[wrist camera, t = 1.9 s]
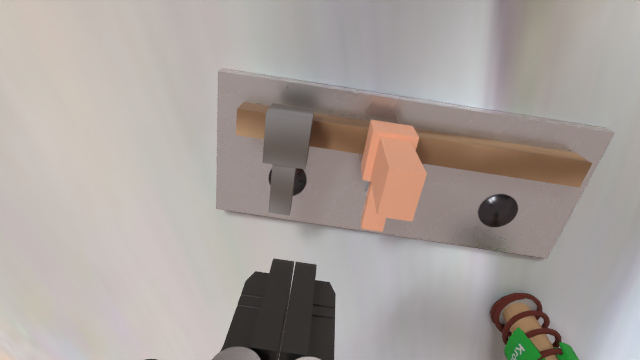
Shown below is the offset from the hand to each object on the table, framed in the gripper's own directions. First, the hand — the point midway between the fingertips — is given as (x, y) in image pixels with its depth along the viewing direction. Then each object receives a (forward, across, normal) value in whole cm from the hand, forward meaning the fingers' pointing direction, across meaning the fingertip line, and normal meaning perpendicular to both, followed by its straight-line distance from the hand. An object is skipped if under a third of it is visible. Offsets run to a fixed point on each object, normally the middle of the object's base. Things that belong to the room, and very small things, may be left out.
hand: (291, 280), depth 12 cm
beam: (+17, -7, +2) cm, 19 cm away
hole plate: (+19, -7, +3) cm, 20 cm away
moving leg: (+17, -5, +2) cm, 18 cm away
